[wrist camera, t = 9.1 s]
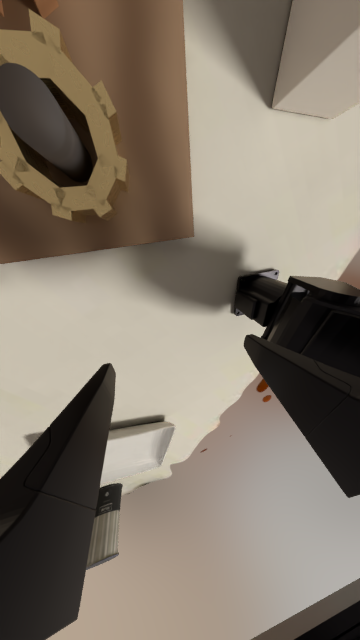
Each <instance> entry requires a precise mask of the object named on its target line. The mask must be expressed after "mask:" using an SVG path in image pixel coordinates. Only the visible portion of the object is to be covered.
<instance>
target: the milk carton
mask: <svg viewBox="0 0 360 640" xmlns="http://www.w3.org/2000/svg"><path fill="white" fill-rule="evenodd" d="M359 103H360V0H293V1H292V6H291V11H290V16H289V21H288V26H287V31H286V36H285V42H284V47H283V52H282V57H281V62H280V67H279V72H278V77H277V82H276V87H275V92H274V97H273V103H272V108H273V109H278V110H284V111H289V112H295V113H301V114H306V115H312V116H318V117H323V118H329V119H334V118H336V117H337V116H339V115H341V114H342V113H344V112H346V111H347V110H349V109H351V108H352V107H354V106H356V105H357V104H359Z"/></svg>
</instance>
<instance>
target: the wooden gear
mask: <svg viewBox="0 0 360 640" xmlns="http://www.w3.org/2000/svg"><path fill="white" fill-rule="evenodd" d="M29 16H30V25H31V31H18V30H2V29H0V66H1V65H2V64H5V63H16V64H20V65H22V66H24V67H26V68H27V69H29V70H31V71H32V72H33V73H34V74H36V75H37V76H38V77H39V78H40V79H41V80H42V81H43V83H44V84H45V85H46V86H47V88H48V89H49V90H50V92H51V93H52V95H53V96H54V98H55V100H56V101H57V103H58V104H59V106H60V108H61V109H62V111H63V112H64V114H65V115H66V117H67V119H74V120H75V121H76V122H77V123H78V124H79V125H80V126H81V127H82V128H83V129H84V130H85V131H86V132H87V133H88V134H89V135H90V136H91V137H92V139H93V143H94V146H95V150H96V153H97V157H98V160H97V162H96V165H95V167H94V170H93V172H92V174H91V177H90V179H89V182H88V184H87V186H75V187H62V186H61V185H60V184H59V183H57V182H56V181H55V180H53V178H52V176H51V174H50V171H49V169H48V167H47V165H46V162H45V160H44V158H43V156H42V155H41V154H39V153H38V152H37V151H36V150H34V149H33V148H32V147H31V146H29V145H28V144H27V143H26V142H24V141H23V140H22V139H21V138H20V137H19V136H18V135H17V134H16V133H15V132H14V131H13V130H12V129H11V127H10V126H9V125H8V123H7V122H6V120H5V119H4V117H3V115H2V113H1V111H0V160H1V162H0V174H1V175H2V176H3V177H4V178H5V180H6V181H7V182H8V183H9V184H10V185H11V186H12V187H13V188H14V189H15V190H16V191H19V192H22V193H25V194H27V195H30V196H33V197H36V198H39V199H42V200H45V201H47V202H48V203H50V204H51V207H52V215H55V216H58V217H61V218H65V219H68V220H71V221H76V222H81V223H86V221H85V216H87V215H97V214H98V216H99V217H100V218H102V219H105V220H107V221H108V220H110V219H111V218H112V217H114V216H115V215H117V214H118V213H117V212H116V210H115V209H114V207H113V206H114V204H115V202H116V200H117V197H118V195H119V193H120V191H121V190H123V191H126V192H128V190H129V178H130V175H129V169H128V164H127V160H126V159H124V158H122V157H120V156H118V152H117V148H116V145H117V144H118V143H120V142H121V141H122V138H121V133H120V128H119V122H118V117H117V112H116V110H115V108H114V106H113V104H112V101H111V99H110V97H109V95H108V93H107V91H106V89H105V87H104V85H103V83H102V81H100V82H99V83H97V84H96V85H95V86H94V87H92V86H91V85H90V83H89V82H88V81H87V80H86V79H85V78H84V76H83V75H82V74H81V73H80V72H79V71H78V69H77V68H76V67H75V66H74V65H73V62H72V60H71V57H70V55H69V52H68V50H67V47H66V45H65V42H64V39H63V37H62V34H61V32H60V29H59V28H57V27H56V26H54V25H53V24H51V23H50V22H48V21H47V20H45V19H44V18H42V17H41V16H39V15H38V14H36V13H35V12H33V11H32V10H30V9H29Z"/></svg>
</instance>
